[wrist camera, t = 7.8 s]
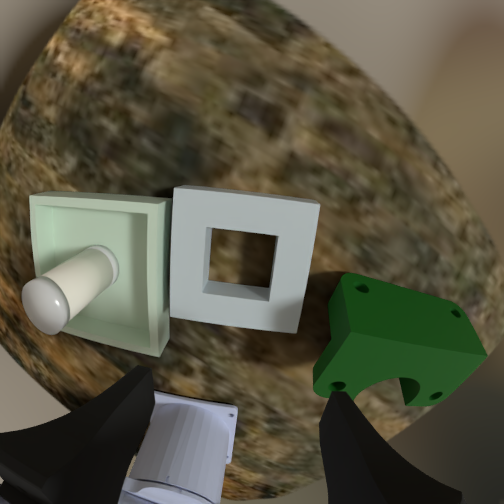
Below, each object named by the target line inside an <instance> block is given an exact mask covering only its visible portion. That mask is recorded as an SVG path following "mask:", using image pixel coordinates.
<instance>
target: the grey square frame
mask: <svg viewBox="0 0 504 504" xmlns="http://www.w3.org/2000/svg"><path fill="white" fill-rule="evenodd" d="M319 209H320V204H319V203H318V202H316V201H315V200H310V199H303V198H296V197H289V196H281V195H274V194H266V193H257V192H249V191H240V190H231V189H221V188H211V187H200V186H189V185H182V186H179V187H175V188H174V195H173V211H172V230H171V258H170V317H176V318H182V319H188V320H194V321H200V322H207V323H213V324H220V325H227V326H235V327H242V328H250V329H259V330H267V331H276V332H286V333H297V329H298V324H299V319H300V315H301V310H302V305H303V300H304V295H305V290H306V285H307V279H308V274H309V269H310V263H311V258H312V252H313V246H314V240H315V234H316V228H317V222H318V216H319ZM212 228H219V229H228V230H236V231H245V232H253V233H261V234H269V235H277V236H276V243H275V250H274V258H273V265H272V272H271V278H270V285H269V288H264V287H256V286H248V285H240V284H232V283H225V282H217V281H210V280H208V276H209V261H210V247H211V235H212Z"/></svg>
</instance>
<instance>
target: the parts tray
mask: <svg viewBox="0 0 504 504" xmlns="http://www.w3.org/2000/svg"><path fill="white" fill-rule="evenodd" d="M171 209H172V198H160V197H148V196H135V195H121V194H105V193H88V192H67V191H48V192H43V193H39V194H34V195H30V223H31V237H32V248H33V258H34V266H35V273H36V277H39V276H41V275H43V274H45V273H46V272H48V271H50V270H51V269H53V268H55V267H57V266H58V265H60V264H62V263H63V262H65V261H67V260H69V259H70V258H72V257H74V256H76V255H78V254H79V253H81V252H83V251H84V250H85V249H87V248H89V247H91V246H93V245H103V246H106V247H107V248H109V249H110V250H111V251H112V252H113V253H114V255H115V256H116V258H117V260H118V263H119V276H118V278H117V280H116V282H115V283H113V284H112V285H111V286H110V287H109V288H107V289H105V290H104V291H103V292H102V293H101V294H99V295H98V296H97V297H96V298H95V299H94V300H93V301H91V302H90V303H89V304H88V305H87V306H86V307H85V308H83V309H82V310H81V311H80V312H79V313H78V314H77V315H76V316H74V317H73V318H72V319H71V320H70V321H69V322H68V324H67V325H66V326H65V327H64V328H63V329H61V330H60V331H63V332H66V333H69V334H72V335H76V336H79V337H82V338H86V339H89V340H92V341H96V342H100V343H103V344H107V345H111V346H114V347H118V348H122V349H126V350H130V351H135V352H139V353H143V354H148V355H152V356H157V357H160V355H161V353H162V351H163V349H164V347H165V345H166V343H167V342H168V340H169V338H170V335H169V256H170V228H171Z"/></svg>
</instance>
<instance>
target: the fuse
mask: <svg viewBox="0 0 504 504" xmlns="http://www.w3.org/2000/svg"><path fill="white" fill-rule="evenodd" d="M118 276H119V263H118V260H117V258H116V256H115V255H114V253H113V252H112V251H111V250H110V249H109V248H107V247H106V246H103V245H93V246H91V247H89V248H87V249H85V250H84V251H83V252H81V253H79V254H78V255H76V256H74V257H72V258H70V259H69V260H67V261H65V262H63V263H62V264H60V265H58V266H57V267H55V268H53V269H51V270H50V271H48V272H46V273H45V274H43V275H41V276H39V277H36V278H35V279H33V280H31V281H30V282H28V283H27V284H25V286H24V287H23V290H22V303H23V307H24V309H25V312H26V314H27V316H28V318H29V319H30V321H31V322H32V323H33V324H34V325H35V326H36V327H37V328H38V329H39V330H40V331H42V332H44V333H46V334H49V335H54V334H57V333H58V332H59V331H60V330H61V329H63V328H64V327H65V326H66V325H67V324H68V322H69V321H70V320H71V319H72V318H73V317H74V316H76V315H77V314H78V313H79V312H80V311H81V310H82V309H83V308H85V307H86V306H87V305H88V304H89V303H90V302H91V301H93V300H94V299H95V298H96V297H97V296H98V295H99V294H101V293H102V292H103V291H104V290H105V289H107V288H109V287H110V286H111V285H112V284H113V283H115V282H116V280H117V278H118Z"/></svg>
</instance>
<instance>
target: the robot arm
mask: <svg viewBox="0 0 504 504" xmlns="http://www.w3.org/2000/svg"><path fill="white" fill-rule="evenodd" d="M237 412H238V408H237V407H236V406H234V405H228V404H221V403H214V402H208V401H202V400H196V399H191V398H186V397H181V396H176V395H171V394H166V393H162V392H157V391H154V386H153V377H152V368H148V367H143V366H139V365H137V366H136V367H135V368H133V369H132V370H131V371H130V372H128V373H127V374H126V375H125V376H123V377H122V378H121V379H120V380H118V381H117V382H116V383H115V384H113V385H112V386H111V387H109V388H108V389H107V390H105V391H104V392H103V393H101V394H100V395H98V396H97V397H95V398H94V399H92V400H91V401H89V402H88V403H86V404H84V405H83V406H81V407H79V408H78V409H76V410H74V411H72V412H70V413H68V414H66V415H64V416H62V417H59V418H57V419H54V420H52V421H50V422H47V423H44V424H41V425H38V426H34V427H31V428H27V429H23V430H18V431H11V432H4V433H0V476H1V478H2V479H3V480H4V481H3V483H2V484H0V504H220V499H221V492H222V485H223V479H224V472H225V465H226V464H228V463H230V462H231V457H232V450H233V442H234V435H235V427H236V420H237ZM149 422H150V426H149V428H148V431H147V433H146V435H145V438H144V440H143V443H142V445H141V448H140V450H139V452H138V455H137V457H136V460H135V462H134V465H133V467H132V470H131V472H130V475H129V477H126V474H127V471H128V468H129V465H130V463H131V460H132V458H133V456H134V454H135V452H136V450H137V448H138V446H139V443H140V441H141V439H142V437H143V435H144V433H145V431H146V429H147V426H148V424H149ZM319 434H320V447H321V453H322V459H323V465H324V470H325V476H326V482H327V488H328V504H466V502H465V499H464V497H463V494H462V492H461V491H458V490H456V489H454V488H451V487H449V486H446V485H444V484H442V483H440V482H438V481H436V480H435V479H433V478H431V477H429V476H428V475H426V474H425V473H423V472H421V471H420V470H419V469H417V468H416V467H414V466H413V465H412V464H410V463H409V462H408V461H406V460H405V459H404V458H403V457H402V456H401V455H399V454H398V453H397V452H396V451H395V450H394V449H393V448H392V447H391V446H390V445H389V444H388V443H387V442H386V441H385V440H384V439H383V438H382V437H381V436H380V435H379V433H378V432H377V431H376V430H375V429H374V427H373V426H372V425H371V424H370V423H369V421H368V420H367V419H366V418H365V416H364V415H363V414H362V412H361V411H360V410H359V408H358V407H357V406H356V404H355V403H354V401H353V400H352V399H351V397H350V396H349V395H348V393H347V392H346V391H332V392H331V395H330V397H329V400H328V402H327V405H326V407H325V410H324V412H323V415H322V417H321V420H320V422H319Z"/></svg>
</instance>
